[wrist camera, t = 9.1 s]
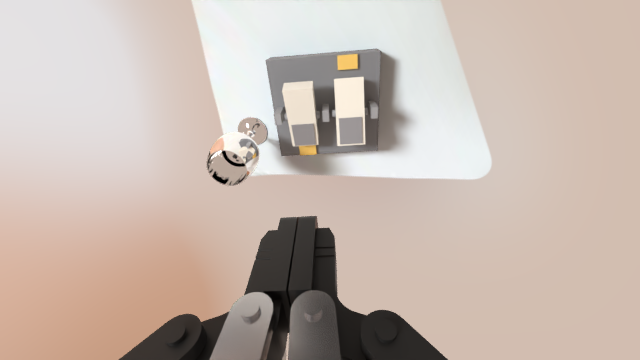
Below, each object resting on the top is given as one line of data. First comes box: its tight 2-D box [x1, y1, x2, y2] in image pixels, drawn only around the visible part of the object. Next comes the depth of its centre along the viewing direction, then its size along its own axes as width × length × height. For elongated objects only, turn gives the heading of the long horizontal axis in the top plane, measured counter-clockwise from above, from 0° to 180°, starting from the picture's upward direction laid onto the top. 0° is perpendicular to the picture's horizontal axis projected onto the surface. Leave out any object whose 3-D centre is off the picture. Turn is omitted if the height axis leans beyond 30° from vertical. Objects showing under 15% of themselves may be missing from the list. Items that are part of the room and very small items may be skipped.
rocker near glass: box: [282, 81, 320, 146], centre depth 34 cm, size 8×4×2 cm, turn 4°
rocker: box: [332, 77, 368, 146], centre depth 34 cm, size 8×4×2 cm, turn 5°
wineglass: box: [207, 117, 267, 186], centre depth 36 cm, size 6×6×12 cm
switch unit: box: [266, 49, 381, 156], centre depth 36 cm, size 13×14×6 cm
